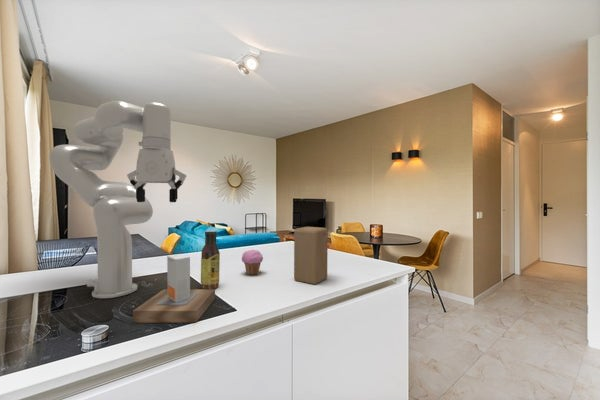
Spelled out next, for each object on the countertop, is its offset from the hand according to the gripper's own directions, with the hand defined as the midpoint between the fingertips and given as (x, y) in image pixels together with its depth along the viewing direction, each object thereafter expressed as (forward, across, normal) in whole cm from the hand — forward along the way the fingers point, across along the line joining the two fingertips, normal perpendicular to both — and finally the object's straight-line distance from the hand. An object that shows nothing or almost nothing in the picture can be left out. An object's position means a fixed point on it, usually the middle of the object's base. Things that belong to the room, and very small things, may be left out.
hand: (157, 202), depth 83 cm
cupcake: (+31, +24, +30) cm, 49 cm away
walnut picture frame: (+30, +9, -6) cm, 32 cm away
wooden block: (+31, +48, +22) cm, 61 cm away
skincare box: (+27, +9, -6) cm, 29 cm away
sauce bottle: (+31, +12, +13) cm, 35 cm away
